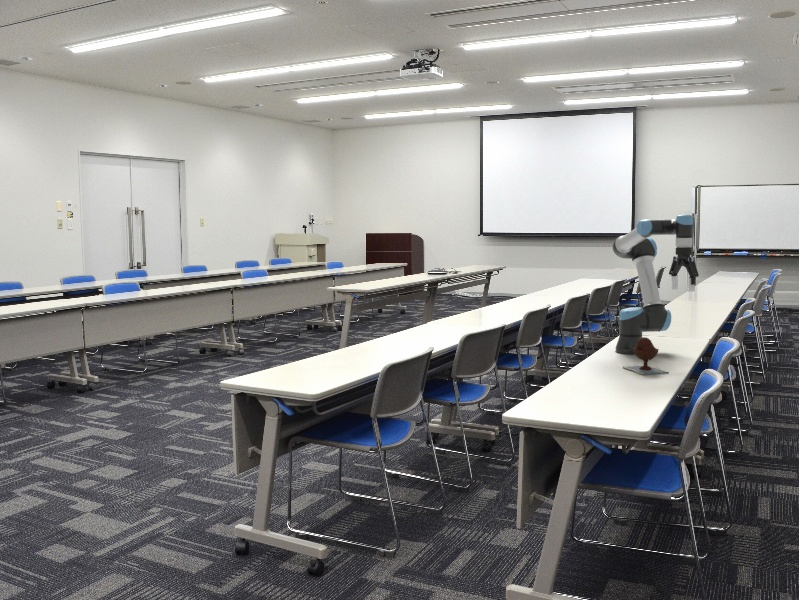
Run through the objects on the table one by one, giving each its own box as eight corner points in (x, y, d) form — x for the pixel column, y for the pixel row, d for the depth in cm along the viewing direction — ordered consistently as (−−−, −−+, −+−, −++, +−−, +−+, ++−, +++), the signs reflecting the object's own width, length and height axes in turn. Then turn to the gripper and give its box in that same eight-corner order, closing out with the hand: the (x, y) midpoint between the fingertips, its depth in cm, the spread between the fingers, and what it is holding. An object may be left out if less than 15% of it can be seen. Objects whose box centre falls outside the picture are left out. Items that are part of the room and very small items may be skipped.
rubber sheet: (622, 368, 335) (622, 366, 335) (647, 366, 338) (647, 365, 338) (642, 375, 319) (642, 373, 318) (668, 373, 321) (668, 371, 321)
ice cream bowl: (659, 371, 322) (660, 338, 321) (634, 371, 324) (634, 338, 323) (656, 367, 332) (657, 335, 331) (631, 366, 335) (632, 335, 333)
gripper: (707, 247, 335) (706, 292, 337) (675, 246, 359) (674, 288, 361) (693, 247, 333) (692, 292, 335) (662, 246, 357) (661, 288, 359)
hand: (683, 290), depth 348 cm, fingers open, 13 cm apart
